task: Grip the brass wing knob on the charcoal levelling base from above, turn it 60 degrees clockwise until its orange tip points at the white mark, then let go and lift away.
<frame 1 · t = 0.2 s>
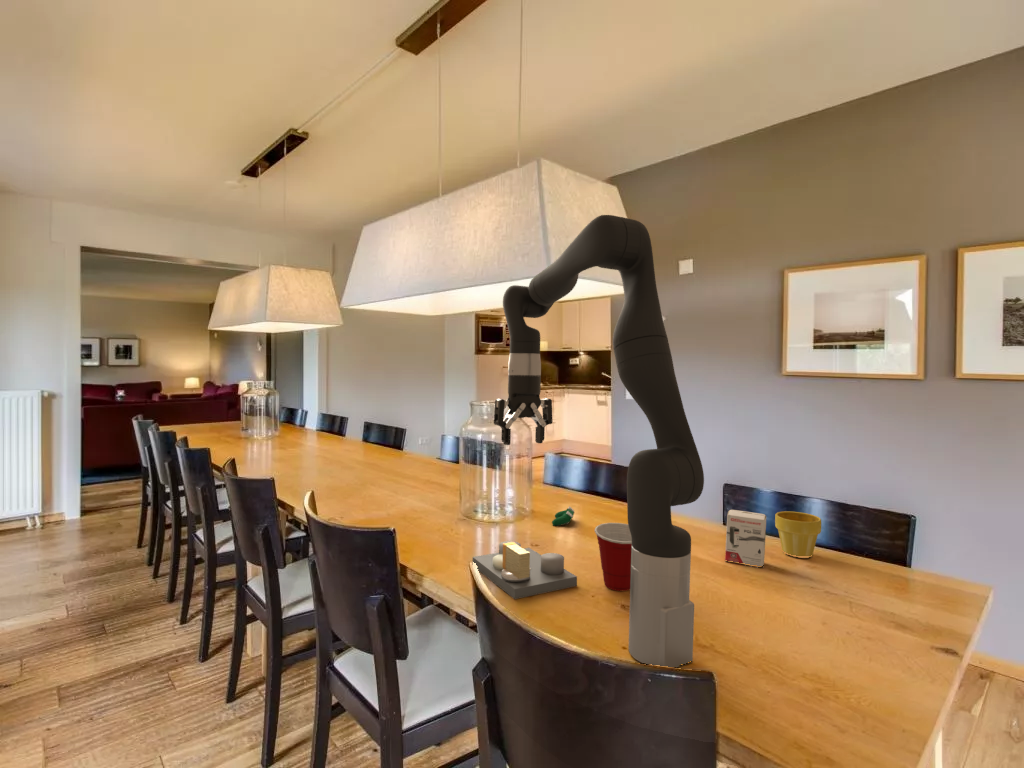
hand: (523, 443, 125), 28 cm above the table, tool pointing down, fingers open, 8 cm apart
levelling base: (522, 575, 119), on the table
ink box: (744, 563, 130), on the table
wing knob: (515, 562, 112), point 5 cm above the table, hinge at 0.0°
plant pot: (796, 555, 137), on the table
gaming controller: (563, 523, 161), on the table
plastic cup: (618, 587, 114), on the table
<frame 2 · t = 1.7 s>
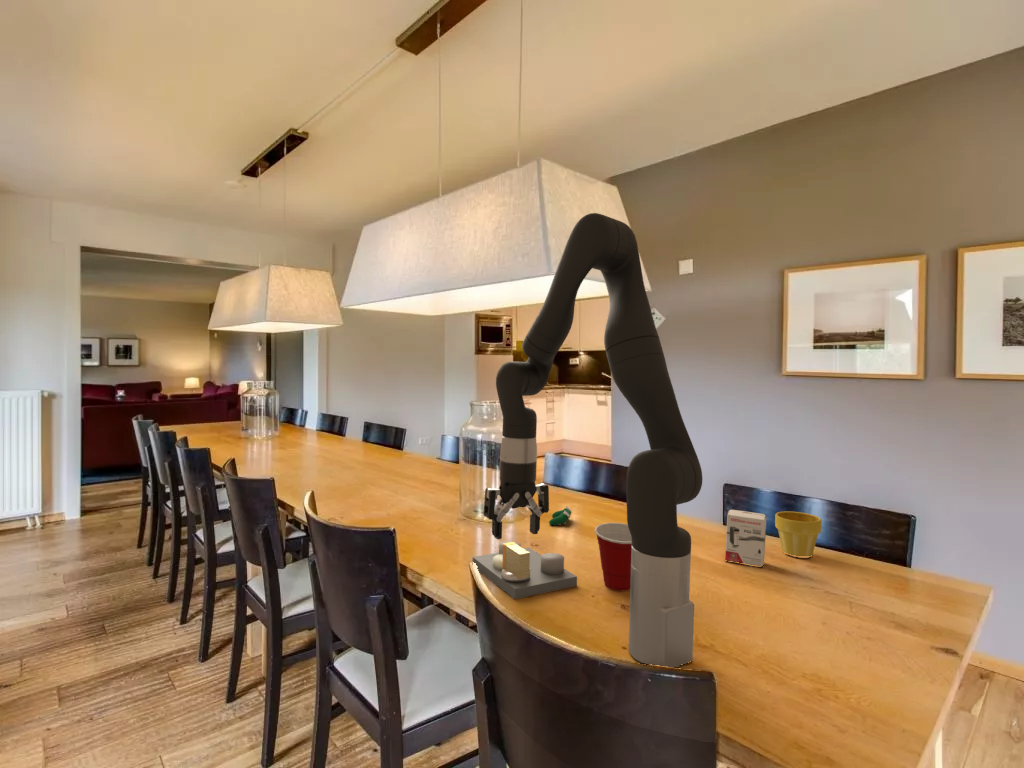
hand: (516, 535, 112), 11 cm above the table, tool pointing down, fingers open, 8 cm apart
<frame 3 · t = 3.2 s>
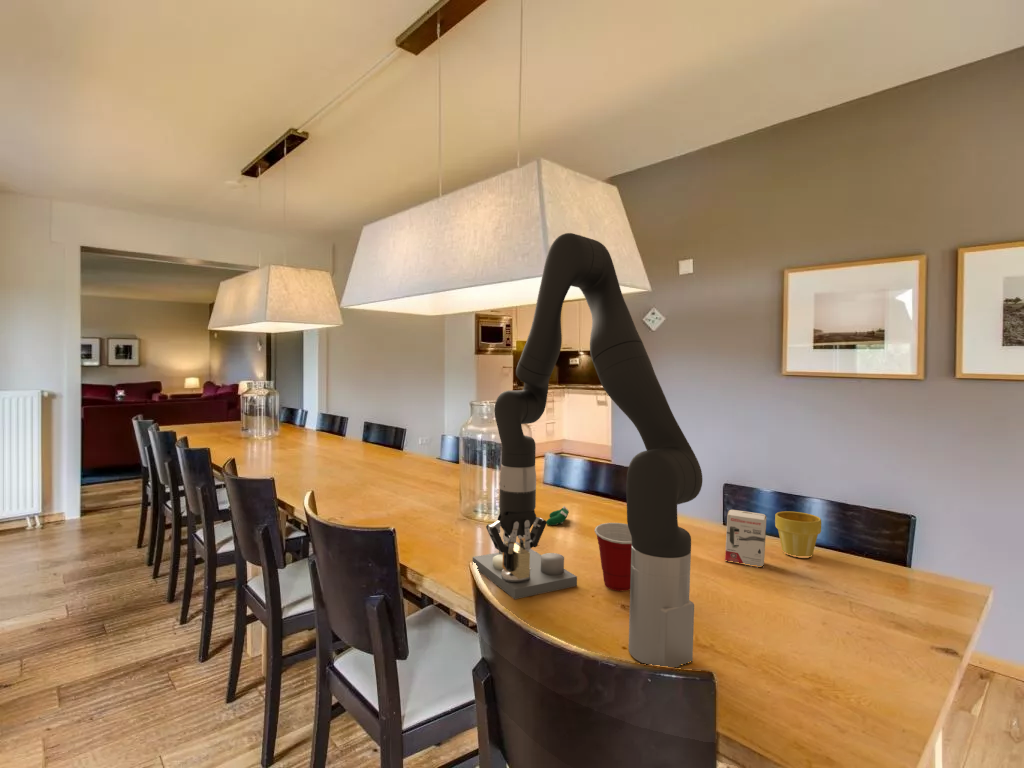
hand: (516, 568, 112), 4 cm above the table, tool pointing down, fingers closed on wing knob, 2 cm apart
wing knob: (515, 562, 112), point 5 cm above the table, hinge at 0.0°, touching gripper
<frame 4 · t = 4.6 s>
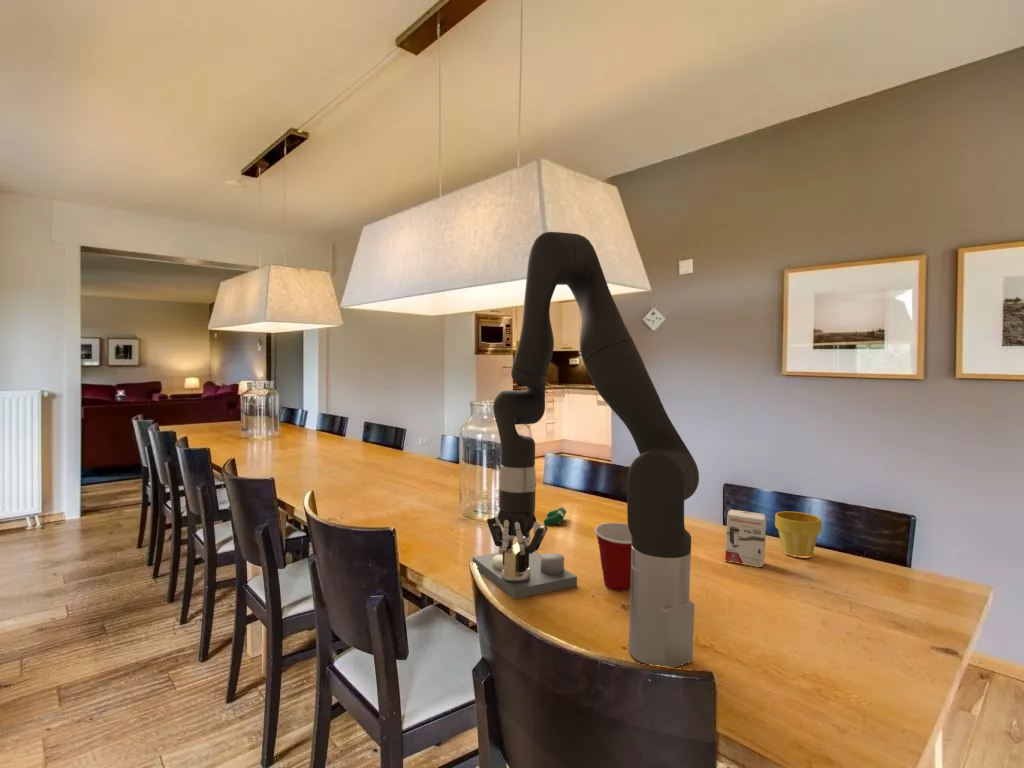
hand: (515, 569, 112), 4 cm above the table, tool pointing down, fingers closed on wing knob, 3 cm apart
wing knob: (516, 562, 112), point 5 cm above the table, hinge at -50.3°, touching gripper
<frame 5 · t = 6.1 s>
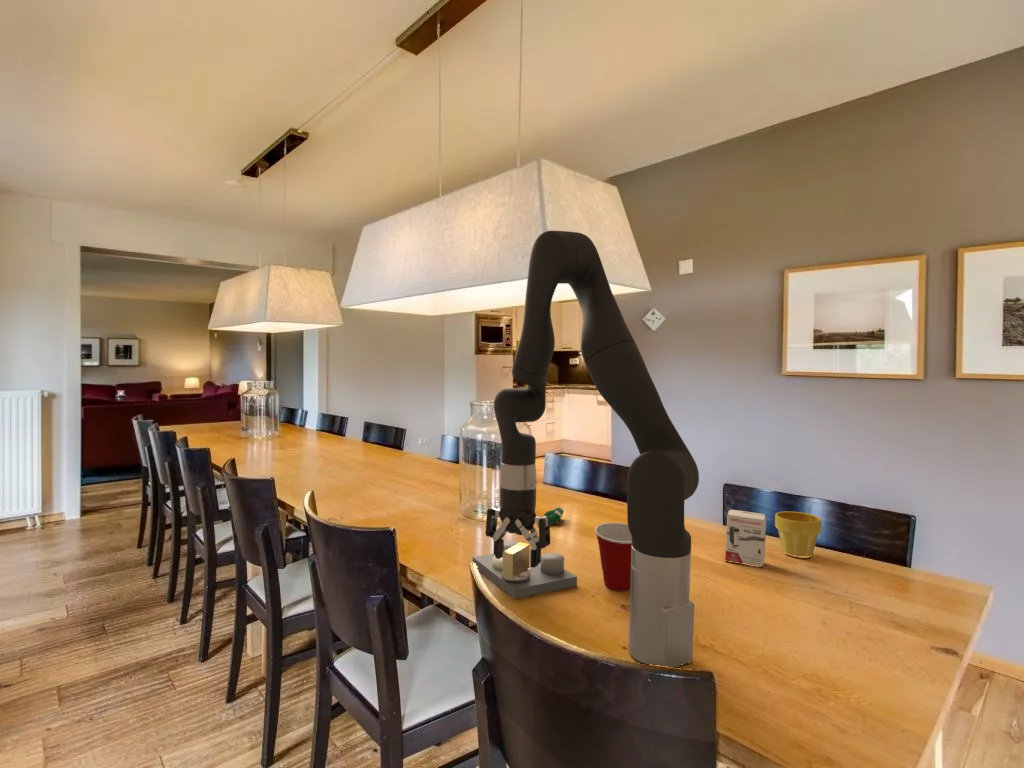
hand: (516, 561, 112), 5 cm above the table, tool pointing down, fingers open, 8 cm apart
wing knob: (516, 562, 112), point 5 cm above the table, hinge at -58.4°
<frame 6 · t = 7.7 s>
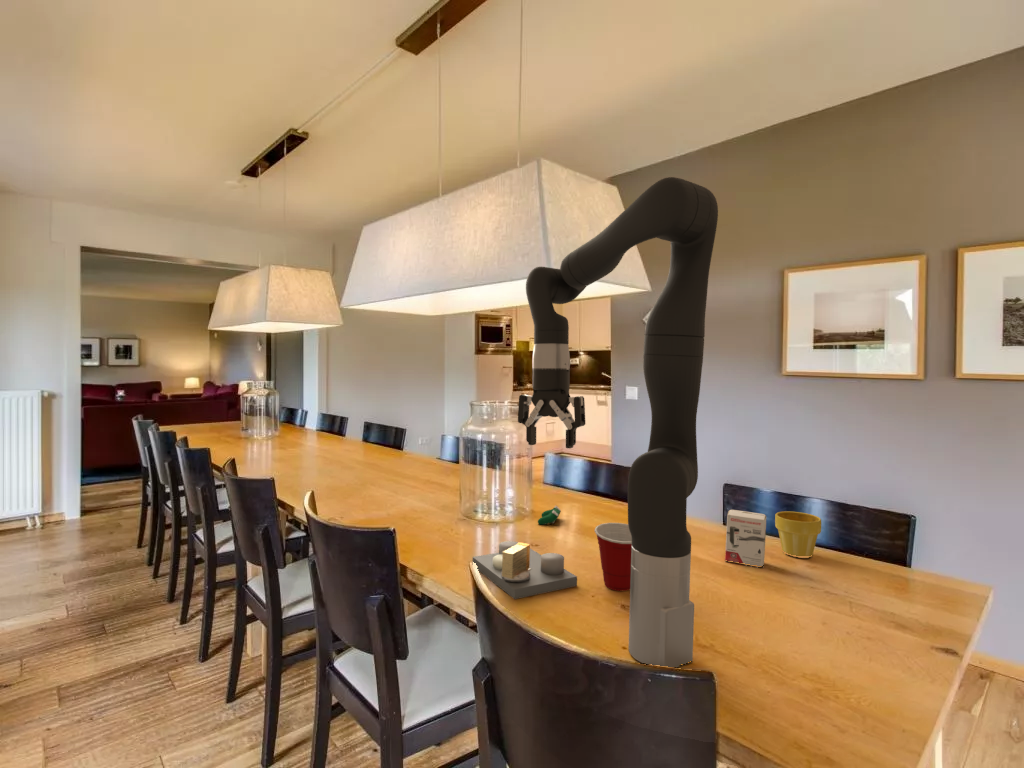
hand: (550, 446, 110), 30 cm above the table, tool pointing down, fingers open, 8 cm apart
wing knob: (516, 562, 112), point 5 cm above the table, hinge at -59.3°
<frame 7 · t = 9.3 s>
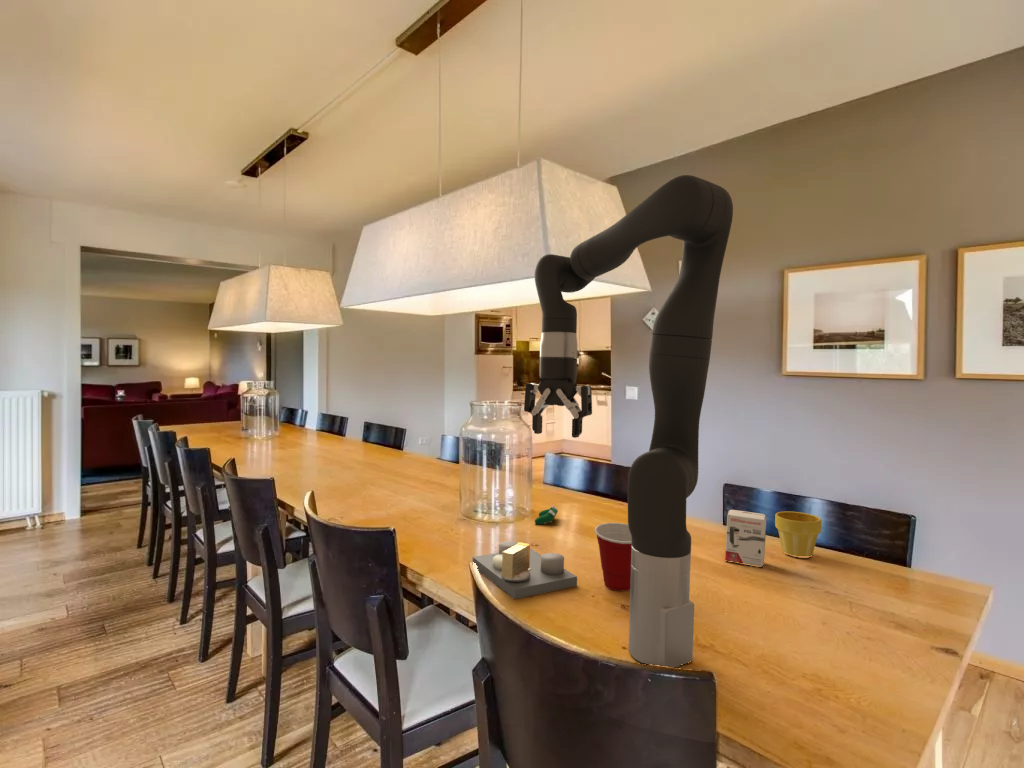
hand: (556, 435, 110), 32 cm above the table, tool pointing down, fingers open, 8 cm apart
at the end: wing knob at -59° (first picture: +0°); the gripper is holding nothing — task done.
